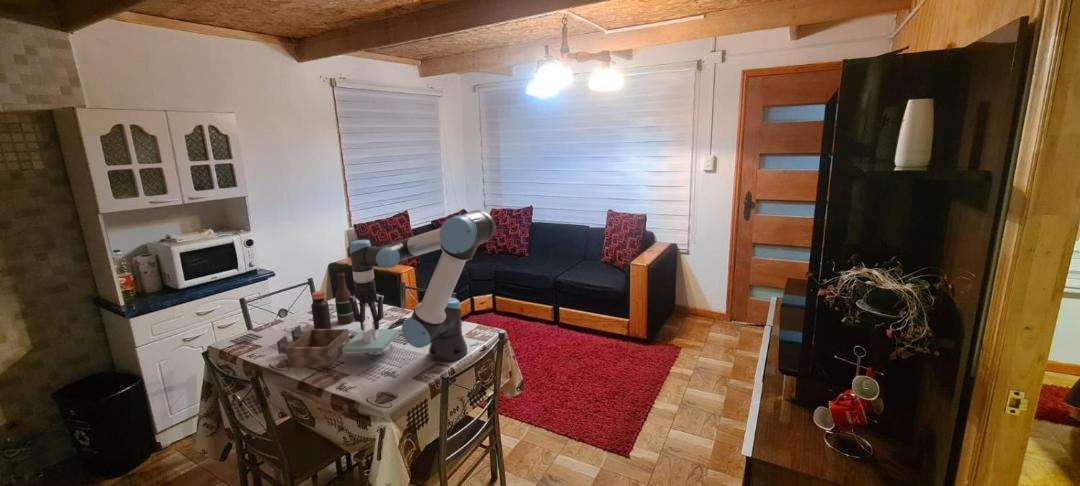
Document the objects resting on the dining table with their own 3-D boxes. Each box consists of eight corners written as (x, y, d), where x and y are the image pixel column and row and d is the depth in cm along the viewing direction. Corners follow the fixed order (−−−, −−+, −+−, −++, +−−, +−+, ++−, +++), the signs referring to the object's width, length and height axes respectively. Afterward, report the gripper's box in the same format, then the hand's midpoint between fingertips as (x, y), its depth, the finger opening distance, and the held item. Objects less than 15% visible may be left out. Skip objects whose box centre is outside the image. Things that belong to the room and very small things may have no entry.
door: (398, 332, 194) (397, 319, 193) (383, 351, 177) (381, 337, 175) (355, 333, 195) (353, 320, 194) (335, 352, 177) (333, 338, 176)
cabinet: (350, 346, 197) (347, 324, 194) (330, 367, 179) (326, 343, 177) (303, 346, 197) (299, 324, 195) (278, 367, 180) (274, 343, 178)
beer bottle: (340, 319, 227) (334, 271, 222) (356, 318, 228) (351, 270, 223) (335, 325, 220) (329, 276, 214) (352, 324, 221) (346, 275, 215)
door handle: (419, 324, 220) (371, 342, 201) (407, 319, 226) (359, 336, 207) (419, 318, 219) (370, 336, 201) (406, 314, 225) (358, 331, 207)
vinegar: (322, 331, 213) (317, 289, 208) (335, 333, 211) (330, 290, 206) (312, 338, 206) (305, 294, 202) (324, 339, 204) (319, 295, 200)
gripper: (388, 276, 184) (394, 332, 189) (347, 277, 184) (355, 333, 189) (381, 282, 176) (388, 340, 181) (339, 283, 177) (347, 341, 182)
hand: (371, 337), depth 185 cm, fingers closed on door, 3 cm apart
